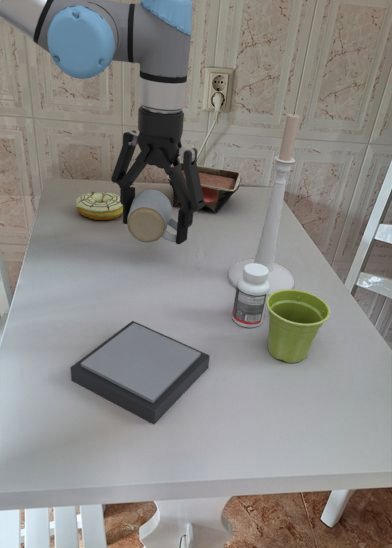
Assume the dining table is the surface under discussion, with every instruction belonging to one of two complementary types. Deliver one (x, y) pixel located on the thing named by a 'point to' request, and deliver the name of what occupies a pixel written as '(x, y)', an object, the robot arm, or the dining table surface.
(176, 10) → the robot arm
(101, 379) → the scale
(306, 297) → the plant pot
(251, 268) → the pill bottle
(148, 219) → the ceramic mug
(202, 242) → the dining table surface
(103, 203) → the decorated donut
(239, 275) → the candlestick
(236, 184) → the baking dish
